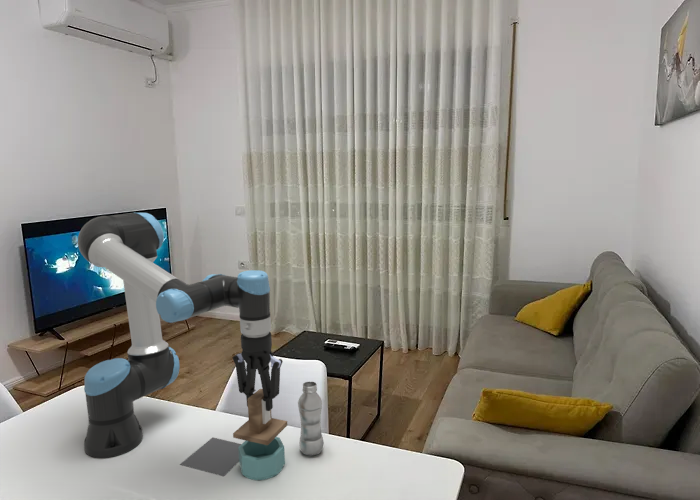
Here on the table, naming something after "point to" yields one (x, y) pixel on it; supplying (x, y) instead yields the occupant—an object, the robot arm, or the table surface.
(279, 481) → the table surface
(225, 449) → the mat
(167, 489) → the table surface
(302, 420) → the plastic bottle
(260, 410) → the cover lid
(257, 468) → the bowl
